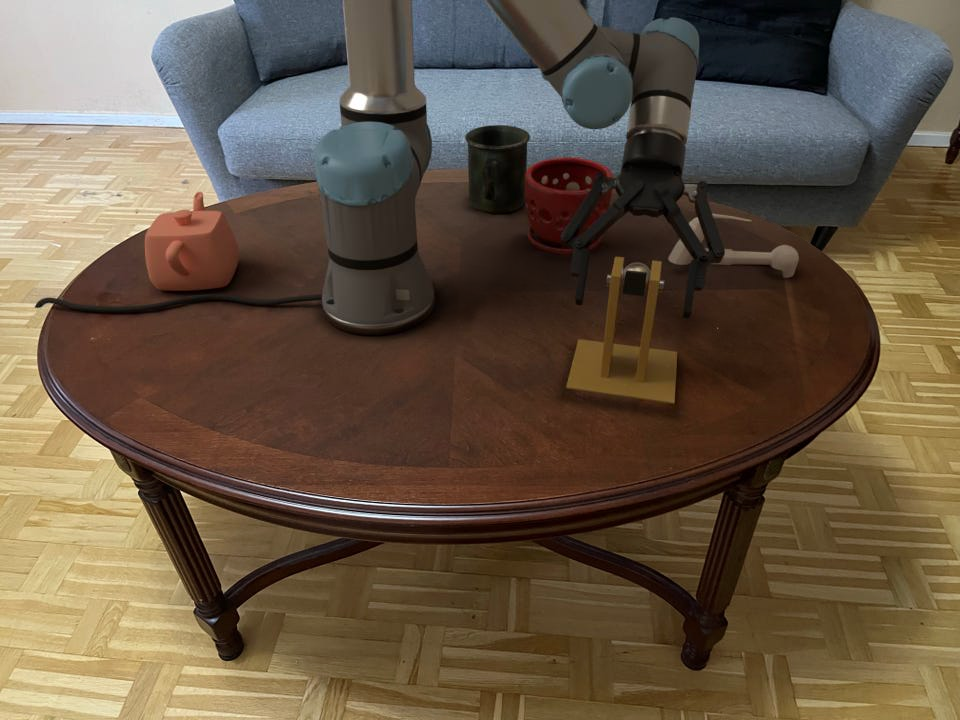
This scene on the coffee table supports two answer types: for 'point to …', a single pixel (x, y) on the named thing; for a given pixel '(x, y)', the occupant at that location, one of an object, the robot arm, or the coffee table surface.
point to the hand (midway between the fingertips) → (631, 309)
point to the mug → (497, 167)
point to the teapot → (191, 249)
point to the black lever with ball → (635, 279)
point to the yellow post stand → (626, 353)
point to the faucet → (740, 253)
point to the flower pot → (560, 199)
